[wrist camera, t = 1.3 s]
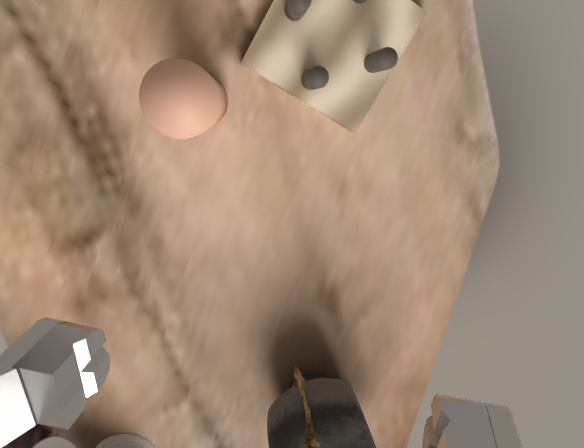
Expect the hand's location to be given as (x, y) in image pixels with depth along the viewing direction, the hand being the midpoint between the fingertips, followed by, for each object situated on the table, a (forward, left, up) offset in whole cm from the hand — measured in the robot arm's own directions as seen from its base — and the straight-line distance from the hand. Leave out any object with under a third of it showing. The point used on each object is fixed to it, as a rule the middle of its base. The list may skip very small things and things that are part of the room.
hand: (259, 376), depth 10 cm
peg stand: (+2, +16, -38) cm, 41 cm away
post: (-7, +4, -38) cm, 39 cm away
